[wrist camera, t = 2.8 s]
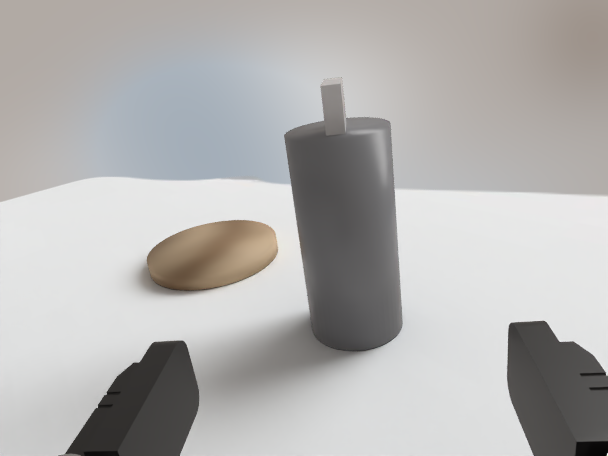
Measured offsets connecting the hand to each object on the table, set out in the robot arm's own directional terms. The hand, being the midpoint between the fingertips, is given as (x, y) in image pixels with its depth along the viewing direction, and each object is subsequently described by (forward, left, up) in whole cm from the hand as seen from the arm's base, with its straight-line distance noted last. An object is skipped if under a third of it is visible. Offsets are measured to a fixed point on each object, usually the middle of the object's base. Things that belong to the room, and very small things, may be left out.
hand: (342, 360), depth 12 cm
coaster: (-10, +20, -6) cm, 24 cm away
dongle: (0, +11, -6) cm, 13 cm away
